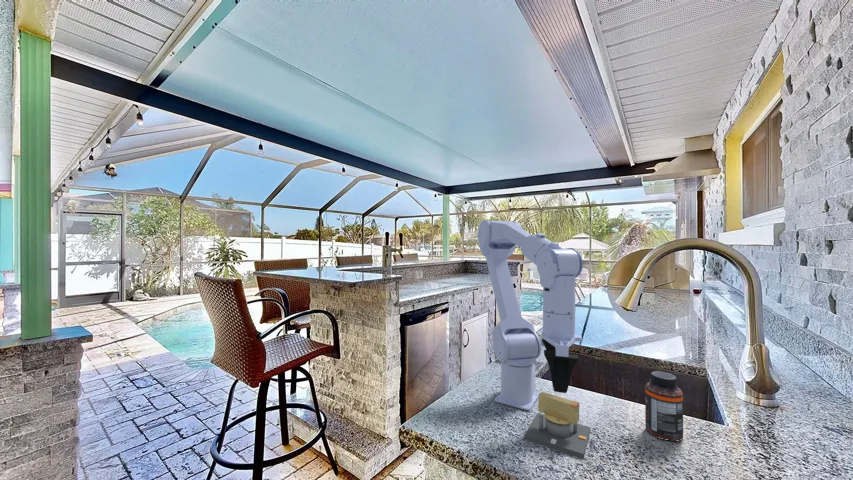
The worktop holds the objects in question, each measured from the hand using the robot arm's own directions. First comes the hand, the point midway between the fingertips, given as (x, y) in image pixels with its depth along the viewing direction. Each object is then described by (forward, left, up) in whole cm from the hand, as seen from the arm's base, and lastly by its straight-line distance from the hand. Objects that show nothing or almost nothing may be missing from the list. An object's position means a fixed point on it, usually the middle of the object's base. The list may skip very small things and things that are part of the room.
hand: (558, 383), depth 63 cm
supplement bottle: (-12, +17, -10) cm, 23 cm away
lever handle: (0, 0, -7) cm, 7 cm away
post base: (0, 0, -10) cm, 10 cm away
